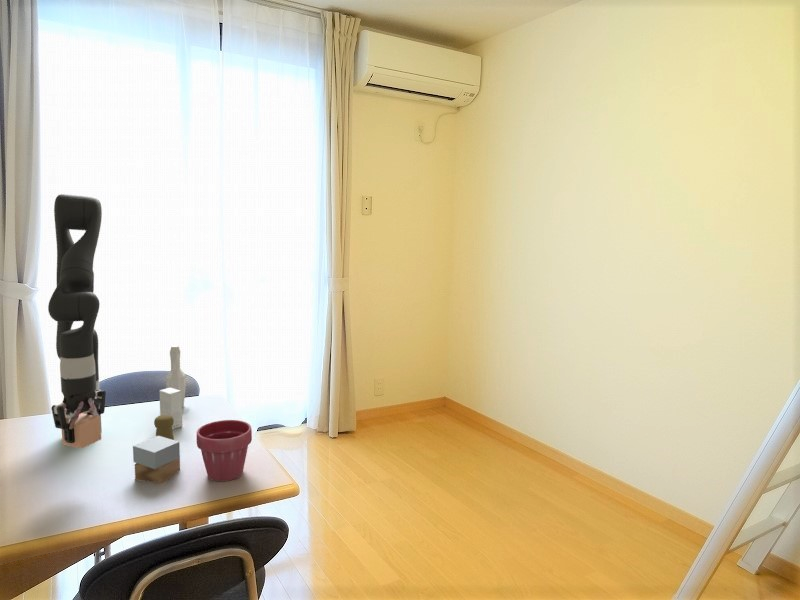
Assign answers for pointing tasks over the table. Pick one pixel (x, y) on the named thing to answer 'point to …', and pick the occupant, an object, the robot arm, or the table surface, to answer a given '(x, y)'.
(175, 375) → the low poly bottle
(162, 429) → the cork
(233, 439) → the plant pot
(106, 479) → the table surface
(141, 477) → the bottom block
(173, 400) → the skincare box
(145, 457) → the top block
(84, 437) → the cube
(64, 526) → the table surface
